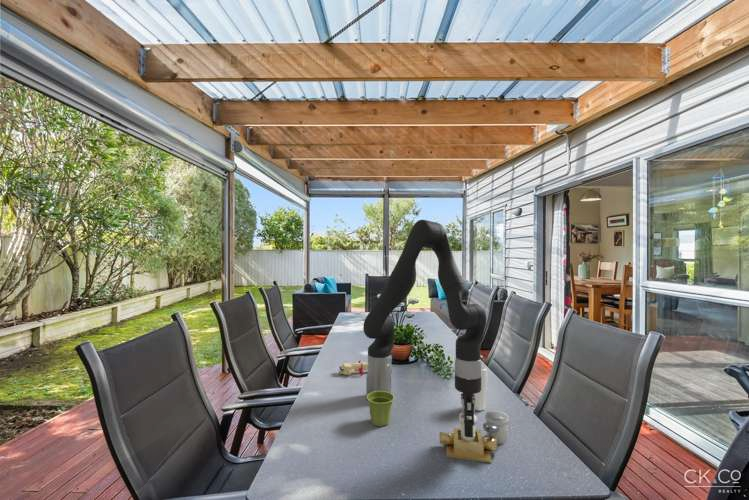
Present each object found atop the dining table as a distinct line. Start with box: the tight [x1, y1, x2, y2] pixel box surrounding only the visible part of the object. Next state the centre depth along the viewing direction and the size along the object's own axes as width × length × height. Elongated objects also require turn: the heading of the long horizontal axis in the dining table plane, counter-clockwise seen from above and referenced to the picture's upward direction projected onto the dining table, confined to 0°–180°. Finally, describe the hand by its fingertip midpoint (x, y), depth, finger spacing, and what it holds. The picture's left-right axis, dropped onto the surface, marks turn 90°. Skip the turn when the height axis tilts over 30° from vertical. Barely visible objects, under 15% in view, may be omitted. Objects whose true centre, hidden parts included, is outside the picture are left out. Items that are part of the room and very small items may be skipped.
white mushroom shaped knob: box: [458, 412, 478, 442], centre depth 98 cm, size 5×5×9 cm
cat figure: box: [337, 359, 393, 377], centre depth 161 cm, size 10×9×25 cm
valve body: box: [439, 421, 499, 464], centre depth 99 cm, size 17×10×8 cm, turn 78°
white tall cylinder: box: [474, 364, 488, 411], centre depth 125 cm, size 7×7×15 cm
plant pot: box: [366, 391, 395, 427], centre depth 115 cm, size 9×9×9 cm
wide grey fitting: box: [484, 410, 510, 445], centre depth 105 cm, size 7×7×7 cm
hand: (467, 428), depth 99 cm, fingers open, 8 cm apart
